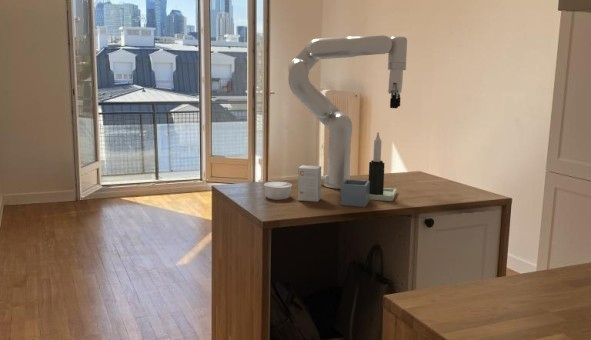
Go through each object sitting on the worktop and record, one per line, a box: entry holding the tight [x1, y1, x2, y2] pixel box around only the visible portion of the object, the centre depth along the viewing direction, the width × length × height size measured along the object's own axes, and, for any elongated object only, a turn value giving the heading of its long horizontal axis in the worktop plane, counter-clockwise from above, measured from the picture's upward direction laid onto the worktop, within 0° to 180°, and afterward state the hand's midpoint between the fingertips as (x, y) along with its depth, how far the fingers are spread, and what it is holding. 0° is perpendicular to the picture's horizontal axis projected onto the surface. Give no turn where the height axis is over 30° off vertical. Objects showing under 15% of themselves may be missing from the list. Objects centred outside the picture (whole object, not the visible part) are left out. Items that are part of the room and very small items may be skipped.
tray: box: [369, 187, 397, 202], centre depth 243 cm, size 15×15×2 cm
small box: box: [297, 164, 322, 203], centre depth 234 cm, size 8×6×13 cm
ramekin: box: [263, 181, 293, 201], centre depth 238 cm, size 11×11×5 cm
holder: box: [339, 179, 370, 208], centre depth 230 cm, size 10×10×8 cm
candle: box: [368, 131, 385, 195], centre depth 241 cm, size 5×5×25 cm
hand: (395, 107), depth 256 cm, fingers open, 9 cm apart
